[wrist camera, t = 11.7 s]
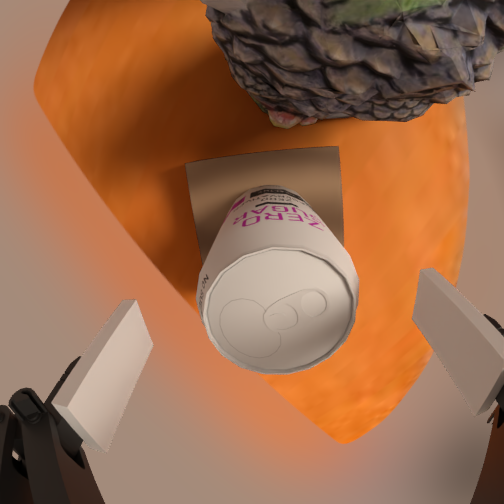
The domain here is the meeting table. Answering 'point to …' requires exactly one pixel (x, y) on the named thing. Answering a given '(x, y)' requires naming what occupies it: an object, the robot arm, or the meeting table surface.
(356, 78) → the decorative house
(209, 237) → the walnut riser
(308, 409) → the meeting table surface
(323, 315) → the supplement can
